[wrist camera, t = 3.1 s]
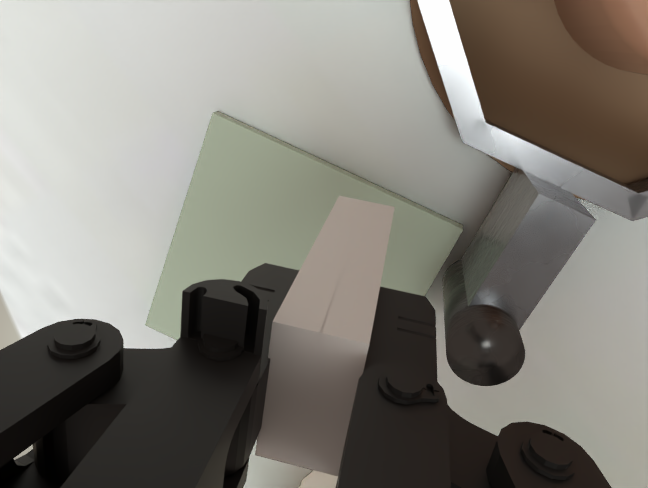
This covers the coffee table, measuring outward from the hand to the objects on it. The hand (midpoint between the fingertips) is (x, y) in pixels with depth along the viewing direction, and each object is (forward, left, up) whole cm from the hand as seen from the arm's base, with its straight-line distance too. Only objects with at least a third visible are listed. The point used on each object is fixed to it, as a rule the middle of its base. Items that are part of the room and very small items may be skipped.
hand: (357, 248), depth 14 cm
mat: (-7, +2, -10) cm, 12 cm away
